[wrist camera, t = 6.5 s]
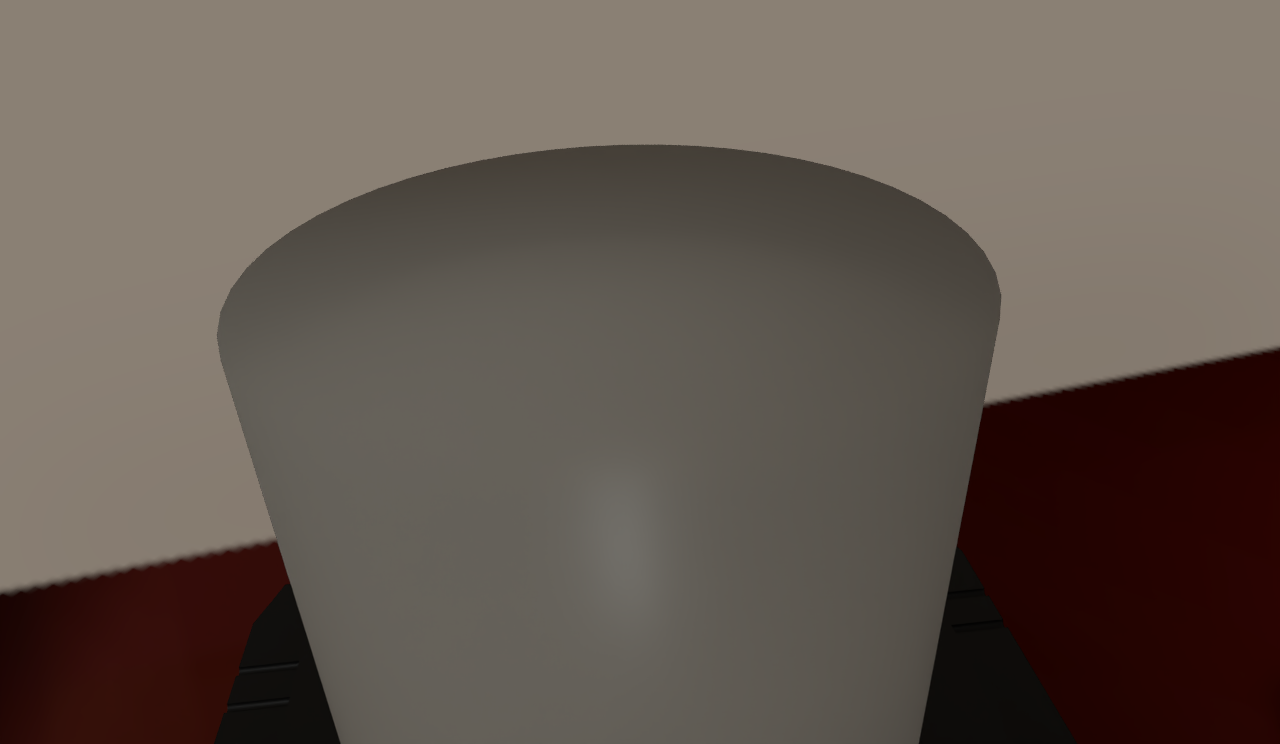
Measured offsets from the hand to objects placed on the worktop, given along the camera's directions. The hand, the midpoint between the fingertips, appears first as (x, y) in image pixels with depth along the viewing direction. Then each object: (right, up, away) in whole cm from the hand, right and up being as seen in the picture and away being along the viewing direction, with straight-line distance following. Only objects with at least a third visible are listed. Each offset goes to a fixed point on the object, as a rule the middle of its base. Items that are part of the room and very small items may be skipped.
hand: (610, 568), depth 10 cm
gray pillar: (+1, -7, +1) cm, 7 cm away
